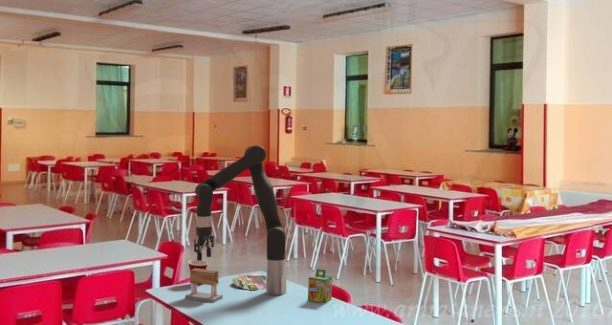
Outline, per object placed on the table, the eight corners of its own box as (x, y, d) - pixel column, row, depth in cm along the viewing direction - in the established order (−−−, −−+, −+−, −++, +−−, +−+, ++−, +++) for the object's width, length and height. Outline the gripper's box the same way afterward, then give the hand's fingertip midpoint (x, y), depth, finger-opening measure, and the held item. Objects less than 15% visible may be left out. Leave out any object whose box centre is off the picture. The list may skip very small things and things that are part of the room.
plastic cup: (201, 287, 310) (202, 264, 310) (183, 285, 314) (183, 262, 314) (212, 282, 321) (212, 260, 320) (194, 280, 324) (194, 258, 324)
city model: (247, 298, 301) (249, 286, 300) (221, 283, 318) (222, 272, 317) (285, 290, 318) (287, 279, 317) (258, 276, 335) (259, 266, 334)
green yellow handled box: (307, 301, 288) (307, 270, 288) (314, 296, 297) (315, 267, 296) (325, 303, 285) (325, 272, 284) (332, 299, 293) (332, 269, 293)
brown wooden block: (195, 280, 295) (195, 268, 295) (218, 283, 290) (218, 271, 290) (190, 282, 291) (190, 270, 290) (213, 285, 286) (213, 273, 286)
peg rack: (222, 298, 291) (222, 282, 291) (214, 302, 284) (214, 286, 284) (194, 294, 297) (194, 279, 297) (185, 298, 290) (185, 283, 290)
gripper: (205, 222, 297) (205, 255, 297) (189, 227, 283) (189, 261, 284) (218, 223, 294) (218, 256, 295) (203, 228, 281) (203, 262, 281)
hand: (204, 258), depth 289 cm, fingers open, 8 cm apart
